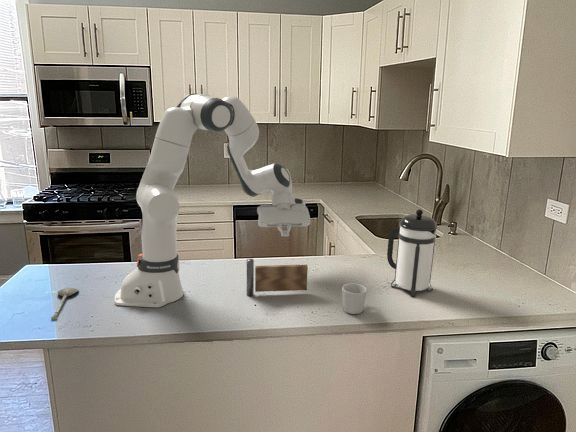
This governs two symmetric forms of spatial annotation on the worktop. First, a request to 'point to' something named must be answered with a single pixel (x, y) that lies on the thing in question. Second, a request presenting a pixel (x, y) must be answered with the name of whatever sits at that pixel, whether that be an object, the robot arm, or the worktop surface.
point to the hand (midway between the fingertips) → (285, 235)
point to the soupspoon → (64, 293)
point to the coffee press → (413, 252)
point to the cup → (353, 298)
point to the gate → (281, 278)
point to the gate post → (250, 277)
